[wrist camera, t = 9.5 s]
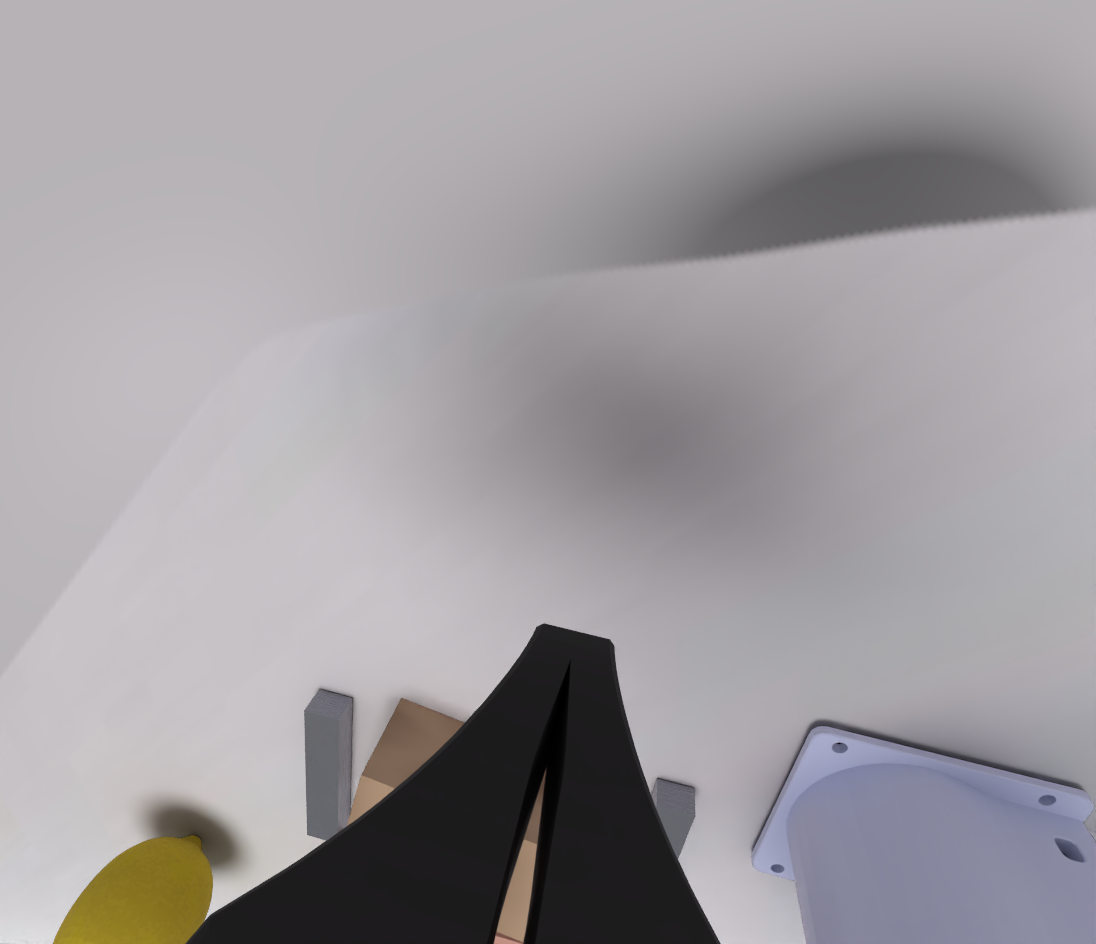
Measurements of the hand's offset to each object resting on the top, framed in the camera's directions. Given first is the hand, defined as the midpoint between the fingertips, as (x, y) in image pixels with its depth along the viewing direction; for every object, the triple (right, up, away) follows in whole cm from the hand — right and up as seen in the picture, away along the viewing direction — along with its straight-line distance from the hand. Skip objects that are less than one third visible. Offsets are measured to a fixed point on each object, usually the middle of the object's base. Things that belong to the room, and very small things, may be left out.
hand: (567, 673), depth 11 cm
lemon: (-19, -15, +22) cm, 33 cm away
